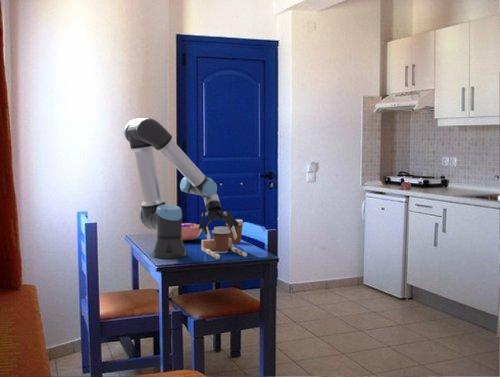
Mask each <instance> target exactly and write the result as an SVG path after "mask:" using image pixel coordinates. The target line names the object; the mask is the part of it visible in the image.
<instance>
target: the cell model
mask: <svg viewBox="0 0 500 377" xmlns="http://www.w3.org/2000/svg"><path fill="white" fill-rule="evenodd" d="M199 225H200V224H197V223H193V222H189V223H187V222H185V223H183V222H182V241H183V242H184V241H194V240H195V239H197V238H198V237H199V236H200V234H202V233H201V232H203V231H202V229H199Z"/></svg>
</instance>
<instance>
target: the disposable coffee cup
mask: <svg viewBox="0 0 500 377" xmlns="http://www.w3.org/2000/svg"><path fill="white" fill-rule="evenodd" d="M234 219H235V218H234ZM235 220H236V221H237V222H238V223H239V225H238V227H236V228H237V233H236V234H237V238H236V240H234V237H233V233H232V230H231V228H232V227H230V226H229V225H228V224H226V223H225V226H226V227H228V228H229V230H230V231H231V233H229V238H231V239H232V245H237V244H238V245H239V244H241V241H242V235H243V234H242V232H243V225H244V221H243V219H240V218H239V219H237V218H236V219H235Z"/></svg>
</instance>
